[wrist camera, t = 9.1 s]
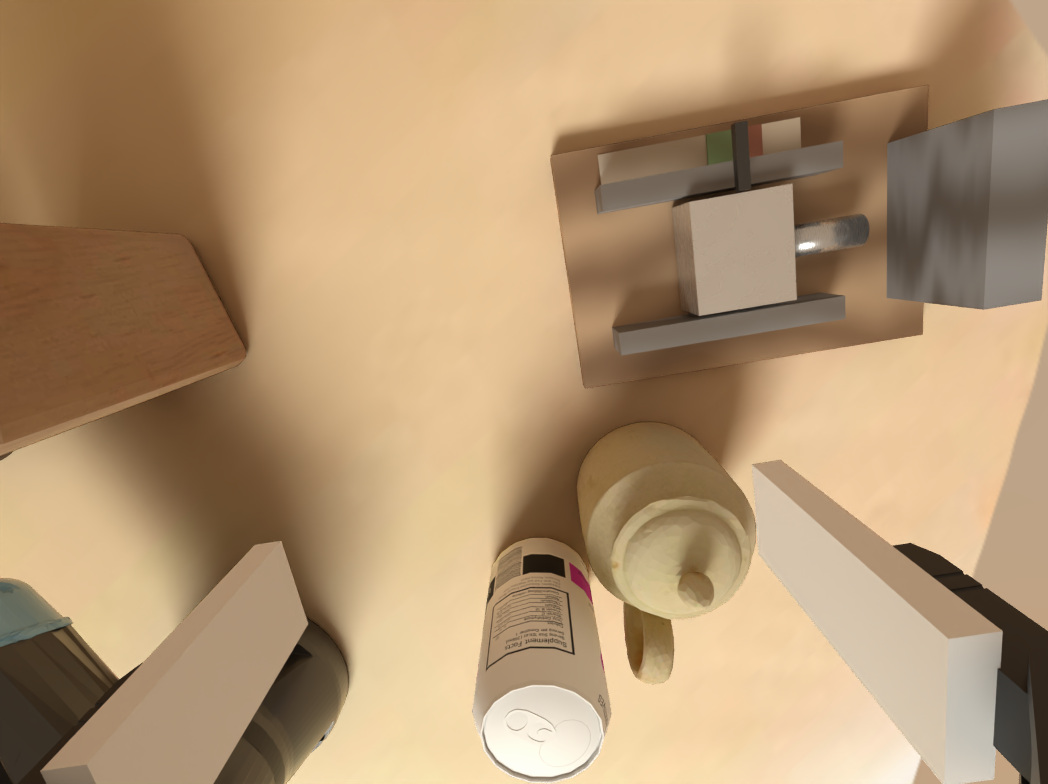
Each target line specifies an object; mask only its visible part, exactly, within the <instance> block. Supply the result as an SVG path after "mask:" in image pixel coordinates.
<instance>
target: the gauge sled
mask: <svg viewBox="0 0 1048 784" xmlns="http://www.w3.org/2000/svg"><path fill="white" fill-rule="evenodd" d="M731 136H732V151H733V167H734V182H735V192H737V191H743V190H748V189H751V173H750V155H749V137H748V120H747V121H742V122H736V123H734V124H732V125H731ZM672 216H673V227H674V237H675V248H676V259H677V270H678V280H679V291H680V302H681V310H684V311H687V312H689V313H692V314H695V315H698V316H702V315H708V314H714V313H720V312H726V311H732V310H738V309H744V308H750V307H756V306H762V305H768V304H774V303H780V302H786V301H792V300H797V291H796V265H795V257H800V256H806V255H812V254H817V253H823V252H829V251H835V250H841V249H847V248H852V247H858V246H862V245H864V244H865V243H866V241H867V239H868V237H869V230H870V229H869V222H868V219H867V218H866V216H865V215H863V214H854V215H849V216H843V217H837V218H831V219H826V220H820V221H814V222H809V223H803V224H797V225H794V211H793V185H792V184H787V185H781V186H776V187H770V188H765V189H759V190H753V191H748V192H742V193H737V194H731V195H726V196H720V197H714V198H709V199H703V200H698V201H692V202H688V203H685V204H682V205H679V206H676V207H673V208H672Z"/></svg>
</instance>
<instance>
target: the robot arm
mask: <svg viewBox="0 0 1048 784" xmlns="http://www.w3.org/2000/svg"><path fill="white" fill-rule="evenodd" d="M752 472H753V485H754V499H755V513H756V527H757V541H758V554H759V556H760V557H761V558H762V559H763V561H764V562H765V563H766V564H767V566H768V567H769V568H770V569H771V571H772V572H773V573H774V574H775V576H776V577H777V578H778V579H779V581H780V582H781V583H782V584H783V586H784V587H785V588H786V589H787V591H788V592H789V593H790V594H791V596H792V597H793V598H794V599H795V601H796V602H797V603H798V604H799V606H800V607H801V608H802V609H803V611H804V612H805V613H806V614H807V616H808V617H809V618H810V619H811V621H812V622H813V623H814V624H815V626H816V627H817V628H818V629H819V631H820V632H821V633H822V634H823V636H824V637H825V638H826V639H827V640H828V642H829V643H830V644H831V645H832V647H833V648H834V649H835V650H836V652H837V653H838V654H839V655H840V657H841V658H842V659H843V660H844V662H845V663H846V664H847V665H848V667H849V668H850V669H851V670H852V672H853V673H854V674H855V675H856V677H857V678H858V679H859V680H860V682H861V683H862V684H863V685H864V687H865V688H866V689H867V690H868V692H869V693H870V694H871V695H872V697H873V698H874V699H875V700H876V702H877V703H878V704H879V705H880V707H881V708H882V709H883V710H884V712H885V713H886V714H887V715H888V717H889V718H890V719H891V720H892V722H893V723H894V724H895V725H896V727H897V728H898V729H899V730H900V732H901V733H902V734H903V735H904V737H905V738H906V739H907V740H908V742H909V743H910V744H911V745H912V747H913V748H914V749H915V750H916V752H917V753H918V754H919V755H920V756H921V758H922V759H923V760H924V761H925V762H926V764H927V765H928V766H929V768H930V769H931V770H932V771H933V773H934V774H935V775H936V776H937V778H938V779H939V780H940V781H941V783H942V784H963V783H971V782H978V781H986V780H992V779H994V770H995V753H996V749H997V750H998V751H999V752H1000V753H1001V754H1002V755H1003V756H1004V757H1005V758H1006V759H1007V760H1008V761H1009V762H1010V763H1011V764H1012V765H1013V766H1014V767H1015V768H1016V770H1017V771H1018V772H1019V773H1020V775H1019V784H1048V631H1047V630H1045V629H1044V628H1042V627H1041V626H1040V625H1038V624H1037V623H1035V622H1034V621H1033V620H1031V619H1030V618H1028V617H1027V616H1025V615H1024V614H1023V613H1021V612H1020V611H1018V610H1017V609H1016V608H1014V607H1013V606H1011V605H1010V604H1008V603H1007V602H1006V601H1004V600H1003V599H1001V598H1000V597H998V596H997V595H996V594H994V593H993V592H991V591H990V590H989V589H987V588H986V589H984V588H983V587H982V585H981V584H980V583H979V582H977V581H976V580H974V579H973V578H972V577H970V576H969V575H964V574H963V571H962V570H960V569H959V568H957V567H956V566H955V565H953V564H952V563H950V562H949V561H948V560H946V559H945V558H943V557H942V556H940V555H938V554H936V553H933V552H931V551H929V550H926V549H924V548H921V547H919V546H916V545H914V544H912V543H908V544H901V545H895V546H892V545H890V544H889V543H888V542H886V541H885V540H884V539H883V538H881V537H880V536H879V535H877V534H876V533H875V532H874V531H872V530H871V529H870V528H868V527H867V526H866V525H864V524H863V523H862V522H861V521H859V520H858V519H857V518H855V517H854V516H853V515H852V514H850V513H849V512H848V511H846V510H845V509H844V508H842V507H841V506H840V505H839V504H837V503H836V502H835V501H833V500H832V499H831V498H829V497H828V496H827V495H826V494H824V493H823V492H822V491H820V490H819V489H818V488H817V487H815V486H814V485H813V484H811V483H810V482H809V481H807V480H806V479H805V478H804V477H802V476H801V475H800V474H798V473H797V472H796V471H794V470H793V469H792V468H791V467H789V466H788V465H787V464H785V463H784V462H783V461H782V460H776V461H770V462H764V463H757V464H752ZM71 624H73V622H72V621H71V619H70V618H69V617H63V616H62V615H60V614H59V613H58V612H57V611H56V610H55V609H54V608H53V607H52V606H51V605H50V604H49V603H48V602H47V601H46V600H45V599H44V598H42V597H41V596H40V595H39V594H38V593H37V592H36V591H35V590H34V589H33V588H32V587H31V586H30V585H28V584H27V583H25V582H23V581H20V580H16V579H11V578H0V784H286V783H287V782H288V781H289V780H290V778H291V777H292V776H293V775H294V774H295V772H296V771H297V770H298V769H299V767H300V766H301V765H302V763H303V762H304V760H305V759H306V758H307V757H308V755H309V754H310V753H311V752H312V751H314V750H315V749H316V748H317V747H318V746H319V745H320V744H321V743H322V742H323V741H324V740H325V739H326V738H327V736H328V735H329V734H330V732H331V730H332V729H333V727H334V725H335V723H336V721H337V719H338V717H339V714H340V712H341V710H342V707H343V705H344V702H345V700H346V696H347V692H348V673H347V668H346V665H345V662H344V659H343V657H342V655H341V653H340V651H339V649H338V648H337V646H336V644H335V643H334V642H333V640H332V639H331V638H330V637H329V636H328V635H327V634H326V633H325V632H324V631H323V630H322V629H321V628H320V627H319V626H317V625H316V624H315V623H313V622H312V621H310V620H309V619H307V618H306V615H305V612H304V609H303V606H302V603H301V600H300V597H299V594H298V591H297V588H296V585H295V582H294V578H293V575H292V572H291V569H290V566H289V563H288V560H287V557H286V554H285V551H284V548H283V544H282V541H276V542H269V543H263V544H257V545H254V546H253V547H252V548H251V549H250V551H249V552H248V553H247V554H246V555H245V556H244V557H243V558H242V559H241V560H240V561H239V562H238V563H237V564H236V565H235V566H234V567H233V568H232V569H231V571H230V572H229V573H228V574H227V575H226V576H225V577H224V578H223V579H222V580H221V581H220V582H219V583H218V584H217V585H216V586H215V587H214V588H213V590H212V591H211V592H210V593H209V594H208V595H207V596H206V597H205V598H204V599H203V600H202V601H201V602H200V603H199V604H198V605H197V606H196V607H195V609H194V610H193V611H192V612H191V613H190V614H189V615H188V616H187V617H186V618H185V619H184V620H183V621H182V622H181V623H180V624H179V625H178V626H177V627H176V629H175V630H174V631H173V632H172V633H171V634H170V635H169V636H168V637H167V638H166V639H165V640H164V641H163V642H162V643H161V644H160V645H159V646H158V648H157V649H156V650H155V651H154V652H153V653H152V654H151V655H150V656H149V657H148V658H147V659H146V660H145V661H144V662H143V663H141V664H140V665H138V666H137V667H136V668H134V669H133V670H132V671H130V672H129V673H128V674H126V675H125V676H124V677H122V678H121V679H119V678H118V677H117V676H116V675H115V674H114V673H113V672H112V671H111V670H110V668H109V667H108V666H107V665H106V664H105V663H104V662H103V661H102V660H101V659H100V658H99V656H98V655H97V654H96V653H95V652H94V651H93V650H92V649H91V648H90V647H89V645H88V644H87V643H86V642H85V641H84V640H83V639H82V637H81V636H80V635H79V634H78V633H77V632H76V631H75V629H74V628H73V627H72V626H71Z"/></svg>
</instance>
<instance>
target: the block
mask: <svg viewBox="0 0 1048 784" xmlns="http://www.w3.org/2000/svg"><path fill="white" fill-rule="evenodd" d="M245 357H246V351H245V347H244V345H243V343H242V341H241V339H240V337H239V335H238V333H237V331H236V330H235V328H234V326H233V324H232V322H231V320H230V318H229V316H228V314H227V312H226V310H225V308H224V306H223V304H222V302H221V300H220V298H219V296H218V295H217V293H216V291H215V289H214V287H213V285H212V283H211V281H210V279H209V277H208V275H207V273H206V271H205V269H204V267H203V265H202V263H201V261H200V260H199V258H198V256H197V254H196V252H195V250H194V248H193V246H192V244H191V243H190V242H189V241H188V240H187V239H186V238H185V237H184V236H182V235H181V234H168V233H152V232H135V231H119V230H103V229H87V228H71V227H55V226H39V225H23V224H7V223H0V456H1V455H4V454H6V453H9V452H12V451H14V450H17V449H20V448H22V447H25V446H28V445H30V444H33V443H36V442H38V441H41V440H44V439H46V438H49V437H52V436H54V435H57V434H60V433H62V432H65V431H68V430H70V429H73V428H76V427H78V426H81V425H84V424H86V423H89V422H92V421H94V420H97V419H100V418H102V417H105V416H108V415H110V414H113V413H116V412H118V411H121V410H124V409H126V408H129V407H132V406H134V405H137V404H140V403H142V402H145V401H148V400H150V399H153V398H155V397H158V396H161V395H163V394H166V393H168V392H171V391H173V390H176V389H179V388H181V387H184V386H186V385H189V384H191V383H194V382H197V381H199V380H202V379H204V378H207V377H210V376H212V375H215V374H217V373H220V372H222V371H225V370H228V369H230V368H233V367H235V366H238V365H239V364H240V363H241V362H242V361H243V360H244V358H245Z"/></svg>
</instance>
